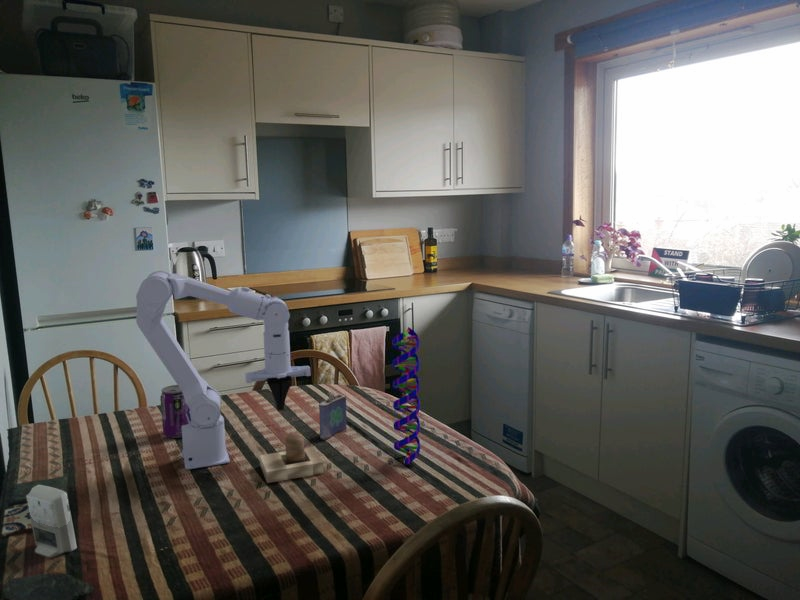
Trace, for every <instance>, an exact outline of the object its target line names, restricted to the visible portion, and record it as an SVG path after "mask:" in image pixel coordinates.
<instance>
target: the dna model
mask: <svg viewBox="0 0 800 600" xmlns="http://www.w3.org/2000/svg"><path fill="white" fill-rule="evenodd" d="M407 335H409V336H407ZM413 339H414V340H415V341H416V342H412V341H411V342H408V341H407V340H413ZM391 344H392V346H393V348H394V349H396V350H398V351H400V352H403V354H400V355H399V356H397V357H395V358H394V359H393V360H392V363H391V364H392V367H393V368H394V369H395V370H397V371H399V372H401V373H403V374H404V375H402V376H400V377H397V378H396V379H394V380H393V382H392V388H393V389H394V390H396V391H398V392H400V393H403V394H405V395H404V396H403V397H402V396H401V397H400V398H399V399H396V400H394V402H393V405H392V406H393V409H394V410H395V411H398V412H401V413H403V414H405V415H406V416H405V417H403V418H401V419H397V420H395V421H394V423H393V429H394V430H395V431H397V432H400V433H403V434H405V437H404V438H403V439H400V440H398V441H395V442H393V449H394V450H395V451H397V452H400V453H404V454H406V456H405V458H404V460H403V464H404V466H407V465H409V464H411V463H412V462H413V461H414V460H416V458H417V457H418V456H419V454H420V452H421V441H420V438H419V437H418V435H419V433H420V430H421V422H420V418H419V416H418V414H419V412H420V409H421V401H420V399H419V397H418V396H417V395H418V393H419V391H420V387H421V384H420V383H421V382H420V379H419V377H418V375H417V373H418V371H419V369H420V365H421V364H420V358H419V356H418V354H417V352H418V350H419V349H420V336H419V335H418V334H417V333H416V331H414V330H413V329H412V328H410V327H407V329H406V330H405V331H404V332H401V333H399V334H397V335H395V336H394V337H393V339H392V341H391ZM407 346H412V348H411V349H410V348H409V347H407ZM413 346H414V347H413ZM412 361H415V362H416V364H409V363H408V362H412ZM404 363H405V364H404ZM407 363H408V364H407ZM410 368H413V369H412V370H411V369H410ZM413 382H416V385H415V384H414V385H413V384H411V385H410V383H413ZM408 383H409V384H408ZM411 389H414V390H411ZM414 402H415V403H416V404H417V405H407V404H410V403H414ZM412 410H414V411H412ZM412 423H416V424H417V426H410V425H409V426H407V425H408V424H412ZM413 430H415V431H413ZM412 443H416V444H417V445H415V446H414V445H409V444H412ZM410 450H415V451H414V452H413V453H412V451H410Z"/></svg>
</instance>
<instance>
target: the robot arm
mask: <svg viewBox="0 0 800 600" xmlns="http://www.w3.org/2000/svg"><path fill="white" fill-rule="evenodd" d="M172 296H174V297H173V299H174V300H175V301H176V300H180V299H183V298H186V297H192V298H193V297H194V298H197V299H200V300H205V301H208V302H212V303H217V304H219V305H220V304H221V305H224V306H226V307H227V309H228V310H229V312H230V313H232V314H235V315H238V316H242V317H245V318H249V319H253V320H255V321H262V320H263V325H264V331H263V350H264V352H263V353H264V368H263V369H260V370H254V371H249V372H245V373H244V376H245V378H244V379H245V383H246V384H252V383H253V382H262V381H265V382H266V383H267V386H268V387H269V389H270V392H271V395H272V397H273V399H274V403H275V404H274V405H275V408H276V410H277V411H283V410H285V403H286V399H287V395H288V392H289V390H290V388H291V386H292V383H293V382H292V378H296V377H303V376H305V377H311V367H310V366H309V365H302V366H299V365H298V366H296V365H295V366H291V345H290V343H291V342H290V330H289V319H290V318H291V313H290V312H289V311H290V310H289V308H288V306H287V304H286V301H284V300H282V299H281V298H279V297H277V296H271V294H267V293H266V294H265V295H263V294H261V293H258V292H254V291H251V290H250V287H247V286H243V288H242V287H237V288H235V289H233V290H228V289H225V288H222V287H219V286H216V285H213V284H210V283H207V282H204V281H201V280H199V279H196V278H193V277H189V276H186V275H181V274H178V273H173V272H172V273H171V274H170V273H169V272H167V271H164V270H157V271H153V272H151V273H150V274H149V275H148V276H146V278H145V279H144V280H142V282H141V284H140V286H139V288H138V290H137V293H136V295H135V297H136V318H135V319H136V320H135V321H136V324H137V327H138V328H139V330H140V331H141V333H142V334H143V336H144V337H145V339H146V340H147V342H148V343H149V345H150V346H151V348H152V349H153V350H154V352H155V353H156V355H157V357H158V358H159V360H160V361H161V363H162V364H163V365H164V367H165V369H166V370H167V371H168V373H169V374H170V376H171V377H172V379H173V381H175V383H176V385H178V386H179V388H180V389H181V391H182V392H183V395H184V398H185V401H186V404H187V405H188V407H189V409H190V416H191V422H190V423H189V424H187V425H183V426H182V437H181V438H182V449H181V457H182V459H183V461H184V462H183V463H184V470H192V469H199V468H205V467H206V468H207V467H210V466H211V467H212V466H217V465H225V464H229V463H230V462H231V460H230V456H229V454H228V450H227V448H226V431H225V430H226V429H225V418H224V416H223V415H222V414H221V406H222V405H221V404H222V395H221V394H220V392H219V391H218V390H216V389H215V388H213V387H211V386H210V385H209V384H208V382H207V381H206V380H205V379H204V378H203V377H201V375H200V374H199V372H198V370H197V369H196V367H195V366H194V364H193V363H192V362H191V360H190V358H189V357H188V356H187V354H186V353H185V351H184V349H183V348H182V346H181V345H180V343H179V342H178V339H176V337H175V336H174V334H173V333H172V331H171V330H170V328H169V327H168V326H167V324H166V322H165V321H164V319H163V316H164V314H165V310H166V307H167V304H168V302H169V300H170V299H171V297H172Z"/></svg>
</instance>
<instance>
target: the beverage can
mask: <svg viewBox="0 0 800 600" xmlns="http://www.w3.org/2000/svg"><path fill="white" fill-rule="evenodd" d="M159 400H160V410H161V422H162V423H161V425H162V434H163V436H165V437H168V438H171V439H181V438H182V426H183V425H187V424H189V423H190V422H191V416H190V409H189V407H188V405H187V404H186V401H185V398H184V395H183V392H182V391H181V389H180V388H179V386H178V385H177V384H174V385H173V384H171V385H167V386H165V387H163V388H162V389H161V395H160V398H159Z"/></svg>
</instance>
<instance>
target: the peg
mask: <svg viewBox="0 0 800 600" xmlns="http://www.w3.org/2000/svg"><path fill="white" fill-rule="evenodd" d="M284 440H285V443H284V444H285V451H286V465H289V464H295V463H301V462H305V451H304V448H305V437H304V436H303V435H301V434H291V435H288V436H286V437H285V439H284Z"/></svg>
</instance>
